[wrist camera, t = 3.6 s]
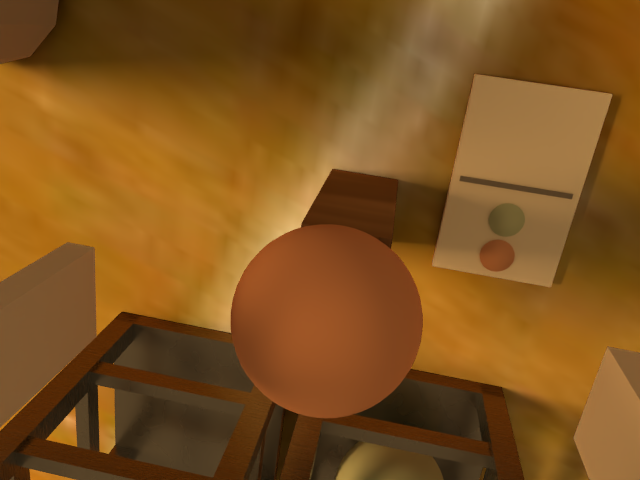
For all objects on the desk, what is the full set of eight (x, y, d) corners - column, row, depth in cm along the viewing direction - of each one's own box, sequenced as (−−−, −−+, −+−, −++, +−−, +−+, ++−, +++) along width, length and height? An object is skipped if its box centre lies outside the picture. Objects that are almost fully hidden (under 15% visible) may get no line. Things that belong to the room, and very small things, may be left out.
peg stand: (332, 168, 23) (297, 230, 16) (398, 179, 23) (391, 246, 16) (323, 230, 24) (287, 312, 17) (386, 241, 24) (375, 329, 17)
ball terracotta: (266, 187, 16) (207, 251, 12) (437, 216, 16) (446, 295, 11) (252, 333, 18) (197, 438, 14) (404, 363, 18) (401, 482, 13)
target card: (474, 73, 21) (476, 74, 21) (609, 93, 21) (613, 94, 20) (432, 262, 24) (432, 266, 24) (548, 283, 24) (551, 288, 23)
